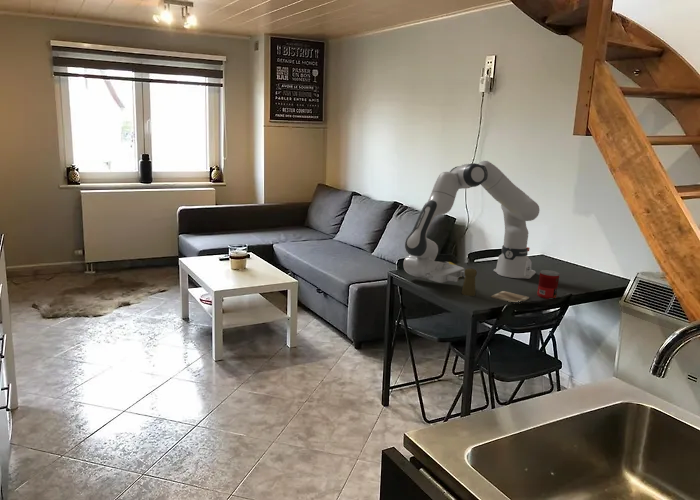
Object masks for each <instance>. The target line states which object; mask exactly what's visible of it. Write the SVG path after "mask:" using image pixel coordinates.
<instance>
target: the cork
mask: <svg viewBox="0 0 700 500" xmlns="http://www.w3.org/2000/svg"><path fill="white" fill-rule="evenodd" d="M477 273H478V271H477V270H476V269H474V268H470V267H469V268H465V271H464V274H465V277H464V280H463V285H462V288H461V295H462V296H469V297H472V296H473V297H474V296H476V276H477Z"/></svg>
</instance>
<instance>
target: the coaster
mask: <svg viewBox="0 0 700 500" xmlns="http://www.w3.org/2000/svg"><path fill="white" fill-rule="evenodd" d="M490 298H492V299H496V300H500V301H504V302H507V301H508V302H509V303H511V302H518V301H519V302H520V301H523V302H525V301H528V300H529V299H530V297H529V296H528V295H527V296H526V295H522V294H519V293H513V292H510V291H505V290H502V291H500V292H497V293H494V294H493V295H491V296H490Z"/></svg>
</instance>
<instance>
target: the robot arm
mask: <svg viewBox="0 0 700 500" xmlns="http://www.w3.org/2000/svg"><path fill="white" fill-rule="evenodd" d="M480 185H481V187H482V188H483V189H484V190H485V191H486V192H487V193H488V194H489V195H490V196H491V197H492V198H493V199H494V200H495V201H497V202H498V203H499V204H500V208H501V210H502V213H503V220H504V237H503V243H502V244H503V245H502V246H501V254H500V255H498V257H497V263H496V268H494V269H493V272H495V273H496V274H498V276H502V277H504V278H505V277H506V278H509V279H510V278H512V279H529V280H530V279H531V278H532V277H534V276H535V274H536V270H533V269H532V263H533V262H532V260H531V259H530V258H529V256H528V255H529V253H528V252H530V250H531V249H530V247H528V246H527V245H528V241H529V230H528V227H527V224H526V223H527V222H532V221H534V220H536V219H537V218H538V216H539V215H540V211H541V210H540V206H539V204H538V202H536V201H535V200H534V199H532V198H531V197H530V195H527V194H526V193H525V192H524V191H523V190H522V189H520V187H518V186H517V185H516V184H515V183H513V182H512V180H511V179H510V178H508V177H507V175H505V174H504V172H502V170H500V169H499V168H498V167H497V166H496V165H495V164H493V163H492V162H490V161H488V160H483V161H479V163H476V162H475V163H474V162H473V163H466V164H465V163H464V164H461V165H459V166H455V167H453V168H452V169H450V170H449V171H443V172H441V173H440V174H439V175H438V177H437V179H436V181H435V183H434V185H433V188H432V190H431V193H430V196H429V199H428V200H427V202H425V203H424V205H423V207H422V209H421V211H420V213H419V215H418V218H417V220H416V222H415V224H414V227H413V228H412V230H411V231H410V233H409V235H408V236H407V237H406V240H405V242H404V248H405V250H406V252H407V253H408V255H407V256H406V257H405V258H404V260H403V269H404V271H405V272H406V273H407V274H408V275H410V276H414V277H416V278H420V279H421V278H423V279H426V280H429V281H433V282H435V283H440V284H444V283H447V282H455V283H457V282H458V281H460V278H462V277H464V278H465V274H464V271H465V270H466V268H465V267H462V266H459V265H457V264H455V265H453V264H454V263H453V264H449V262H450V261H437V260H436V258H437V256H438V255H439V245H438V244H437V243H436V242H435V241H433V240H432V239H430V238H428V237H427V233H428V232H429V228H430V227H431V225H432V222H433V220H434V218H435V217H436V216H440V215H441V216H442V215H445V214H447V213H449V212H450V211H451V210H452V208H453V206H454V203H455V201H456V198H457V193H458V192H459V190H460V189H463V190H464V189H470V188H471V189H472V188H475V187H479V186H480Z"/></svg>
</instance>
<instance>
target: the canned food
mask: <svg viewBox="0 0 700 500" xmlns="http://www.w3.org/2000/svg"><path fill="white" fill-rule="evenodd" d="M559 282H560V272H558V271H555V270H550V269H549V270H548V269H542V270H540V271H539V277H538V285H537V293H536V295H537V297H539V298H541V299H545V300H550V299H549V298H555V299H556V298H557V296H558V295H557V294H558V289H559V288H558V287H559Z"/></svg>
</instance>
